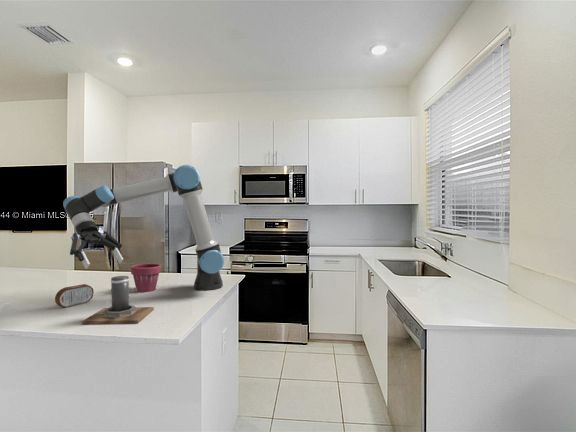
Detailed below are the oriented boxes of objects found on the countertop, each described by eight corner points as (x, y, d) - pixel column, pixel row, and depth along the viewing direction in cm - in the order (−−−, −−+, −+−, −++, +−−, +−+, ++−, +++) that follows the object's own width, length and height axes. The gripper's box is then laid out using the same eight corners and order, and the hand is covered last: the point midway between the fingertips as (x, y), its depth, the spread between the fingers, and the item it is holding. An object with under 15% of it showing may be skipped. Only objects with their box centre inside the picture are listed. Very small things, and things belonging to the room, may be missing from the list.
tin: (91, 300, 149) (90, 282, 149) (94, 301, 147) (94, 282, 147) (54, 309, 136) (54, 289, 135) (58, 310, 134) (58, 290, 134)
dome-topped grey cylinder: (131, 310, 129) (131, 275, 129) (124, 315, 123) (124, 278, 123) (116, 310, 129) (115, 275, 129) (108, 315, 123) (107, 279, 122)
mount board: (153, 309, 134) (153, 302, 134) (137, 323, 118) (137, 314, 118) (104, 310, 133) (104, 302, 133) (81, 324, 117) (81, 315, 117)
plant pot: (166, 287, 174) (165, 263, 174) (152, 293, 160) (152, 268, 160) (140, 286, 175) (140, 263, 175) (125, 293, 161) (125, 267, 161)
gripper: (110, 230, 150) (130, 265, 143) (48, 233, 129) (68, 275, 121) (116, 218, 147) (137, 253, 140) (54, 220, 126) (75, 262, 118)
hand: (105, 263), depth 131 cm, fingers open, 13 cm apart
